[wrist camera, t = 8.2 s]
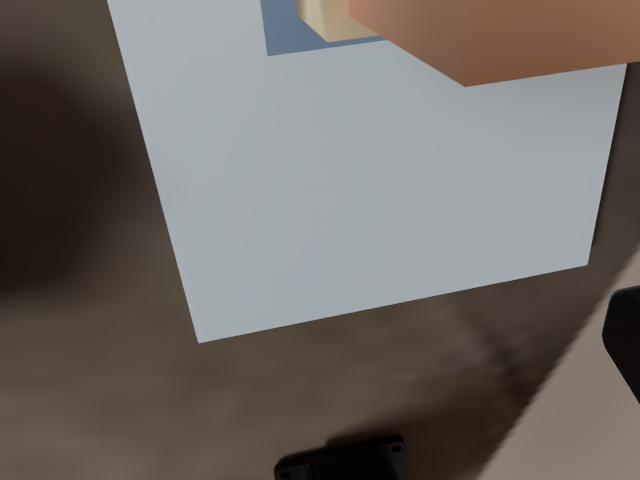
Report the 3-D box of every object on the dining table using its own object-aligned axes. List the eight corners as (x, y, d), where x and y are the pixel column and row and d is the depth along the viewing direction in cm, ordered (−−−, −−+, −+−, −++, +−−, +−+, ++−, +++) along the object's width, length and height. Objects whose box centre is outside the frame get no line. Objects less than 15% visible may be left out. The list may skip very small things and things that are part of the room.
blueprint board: (573, 252, 24) (587, 265, 23) (198, 326, 22) (198, 343, 21) (677, -330, 14) (708, -346, 13) (35, -298, 12) (23, -315, 11)
